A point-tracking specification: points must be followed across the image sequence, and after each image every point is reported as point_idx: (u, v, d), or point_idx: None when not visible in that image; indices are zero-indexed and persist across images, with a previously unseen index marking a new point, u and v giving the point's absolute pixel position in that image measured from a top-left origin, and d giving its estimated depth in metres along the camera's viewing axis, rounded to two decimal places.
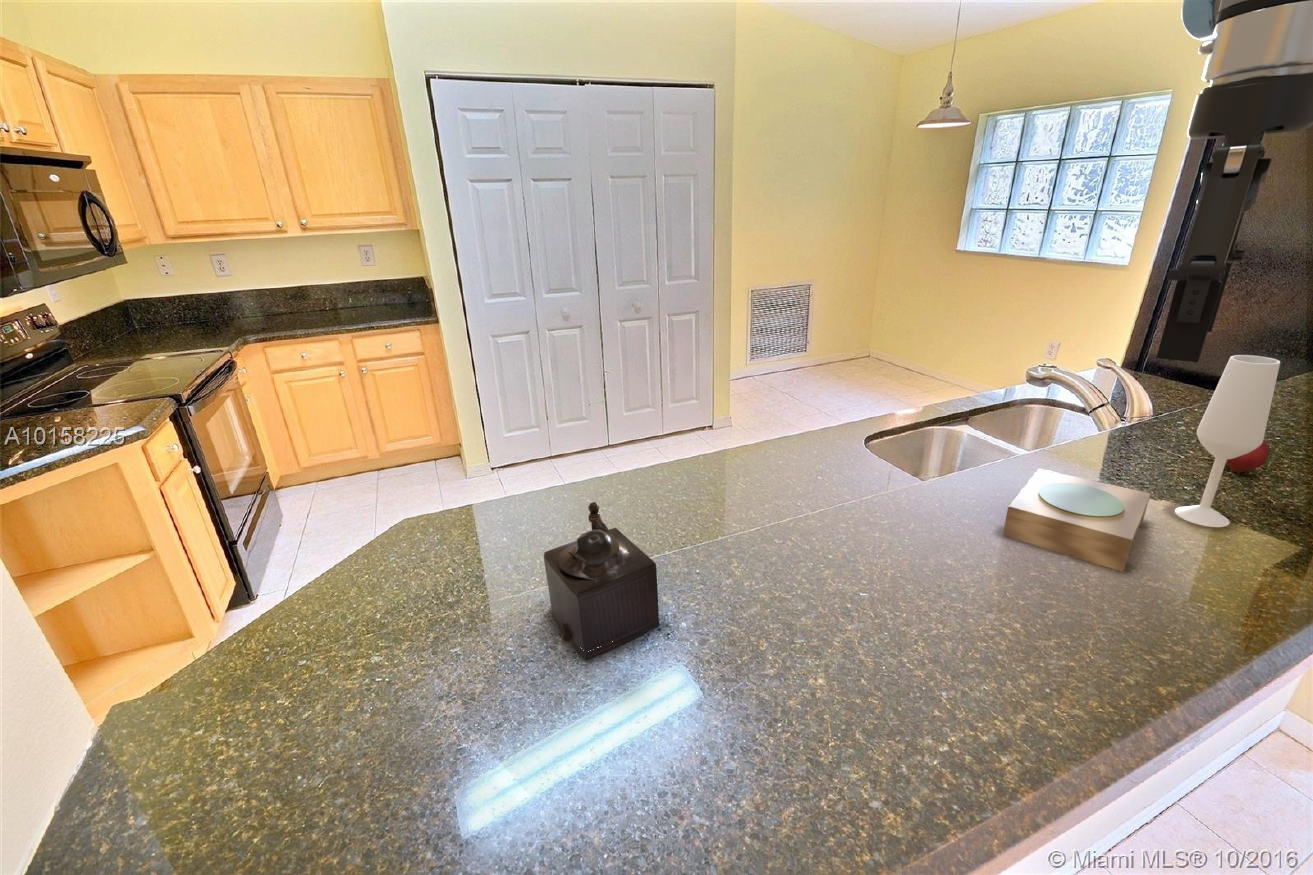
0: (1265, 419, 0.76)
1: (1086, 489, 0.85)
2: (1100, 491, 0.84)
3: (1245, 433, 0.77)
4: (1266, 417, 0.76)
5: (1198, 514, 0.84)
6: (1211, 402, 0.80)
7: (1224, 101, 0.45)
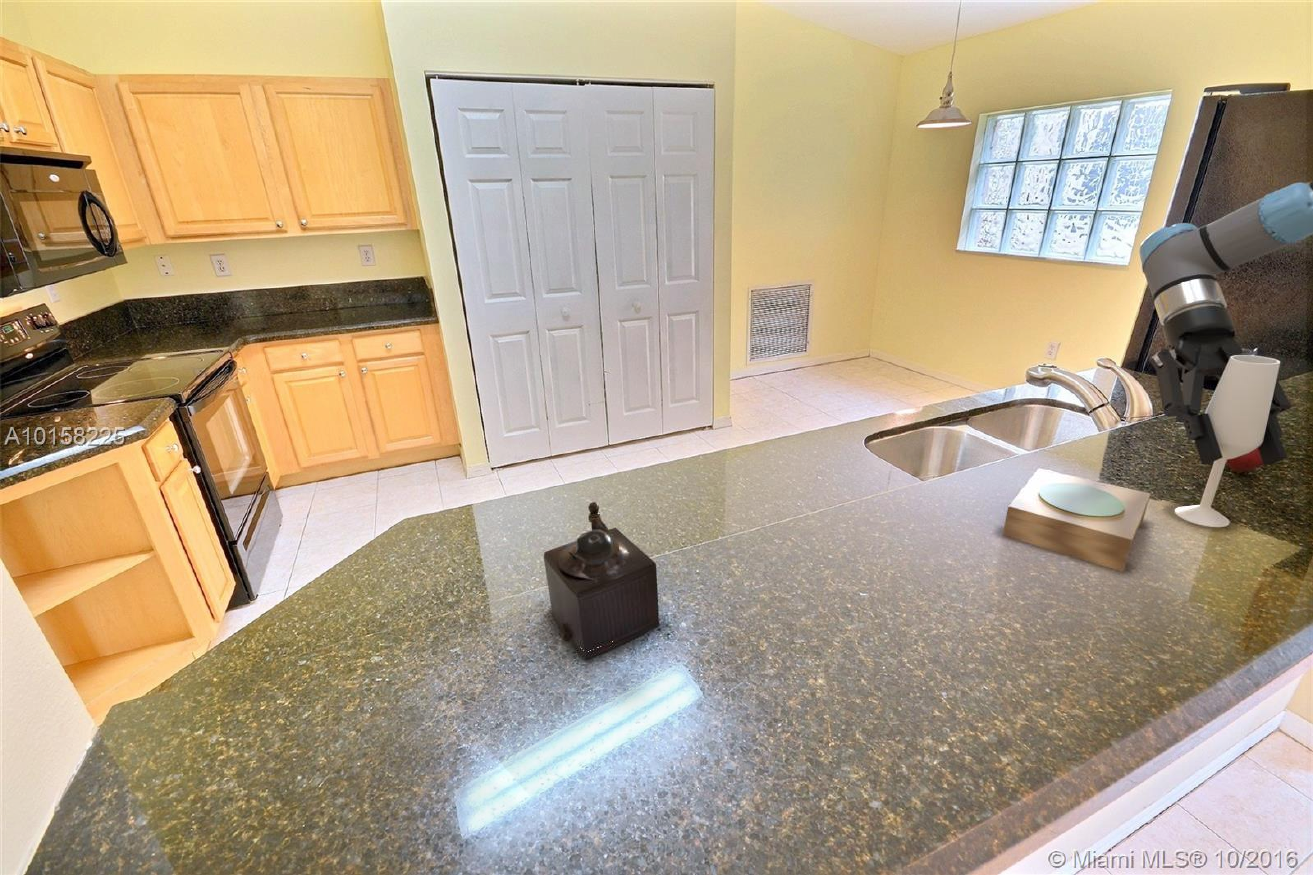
0: (1265, 419, 0.76)
1: (1086, 489, 0.85)
2: (1100, 491, 0.84)
3: (1245, 433, 0.77)
4: (1266, 417, 0.76)
5: (1198, 514, 0.84)
6: (1211, 402, 0.80)
7: (1164, 333, 0.88)
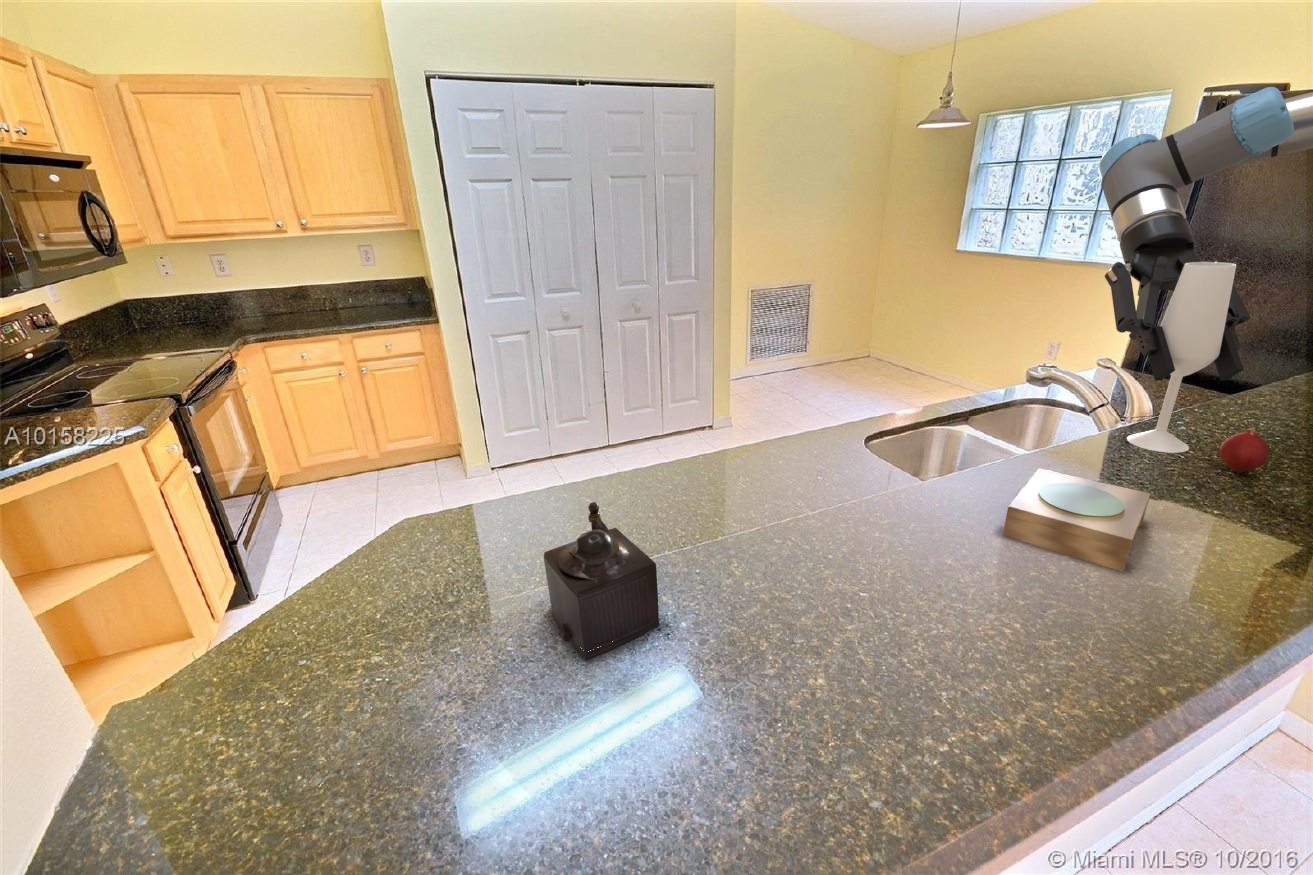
0: (1221, 328, 0.71)
1: (1086, 489, 0.85)
2: (1100, 491, 0.84)
3: (1199, 344, 0.72)
4: (1222, 326, 0.71)
5: (1154, 438, 0.79)
6: (1165, 314, 0.75)
7: (1121, 249, 0.83)
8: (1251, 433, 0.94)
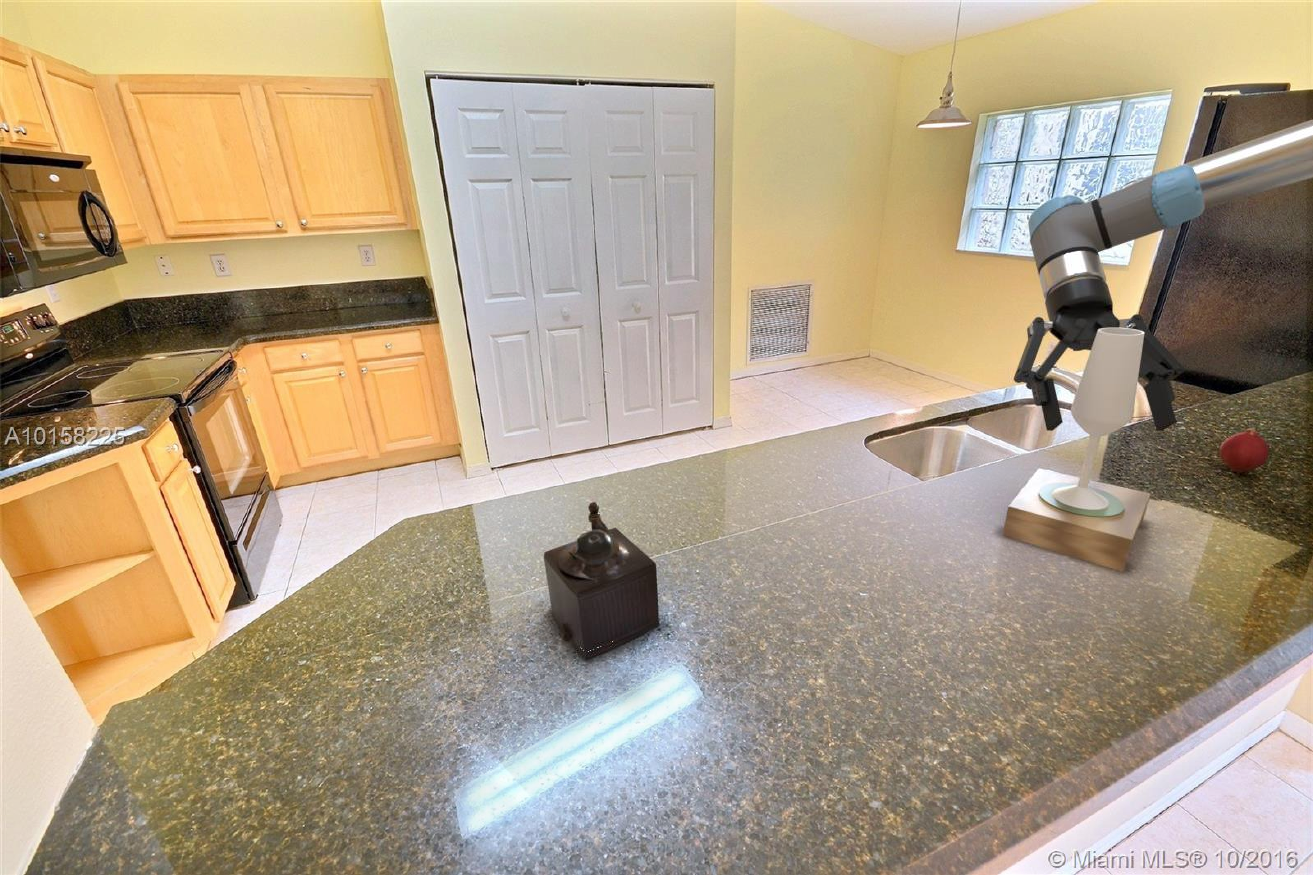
0: (1132, 393, 0.74)
1: None
2: (1100, 491, 0.84)
3: (1112, 408, 0.74)
4: (1133, 391, 0.74)
5: (1075, 494, 0.81)
6: (1082, 377, 0.77)
7: (1046, 308, 0.85)
8: (1251, 433, 0.94)
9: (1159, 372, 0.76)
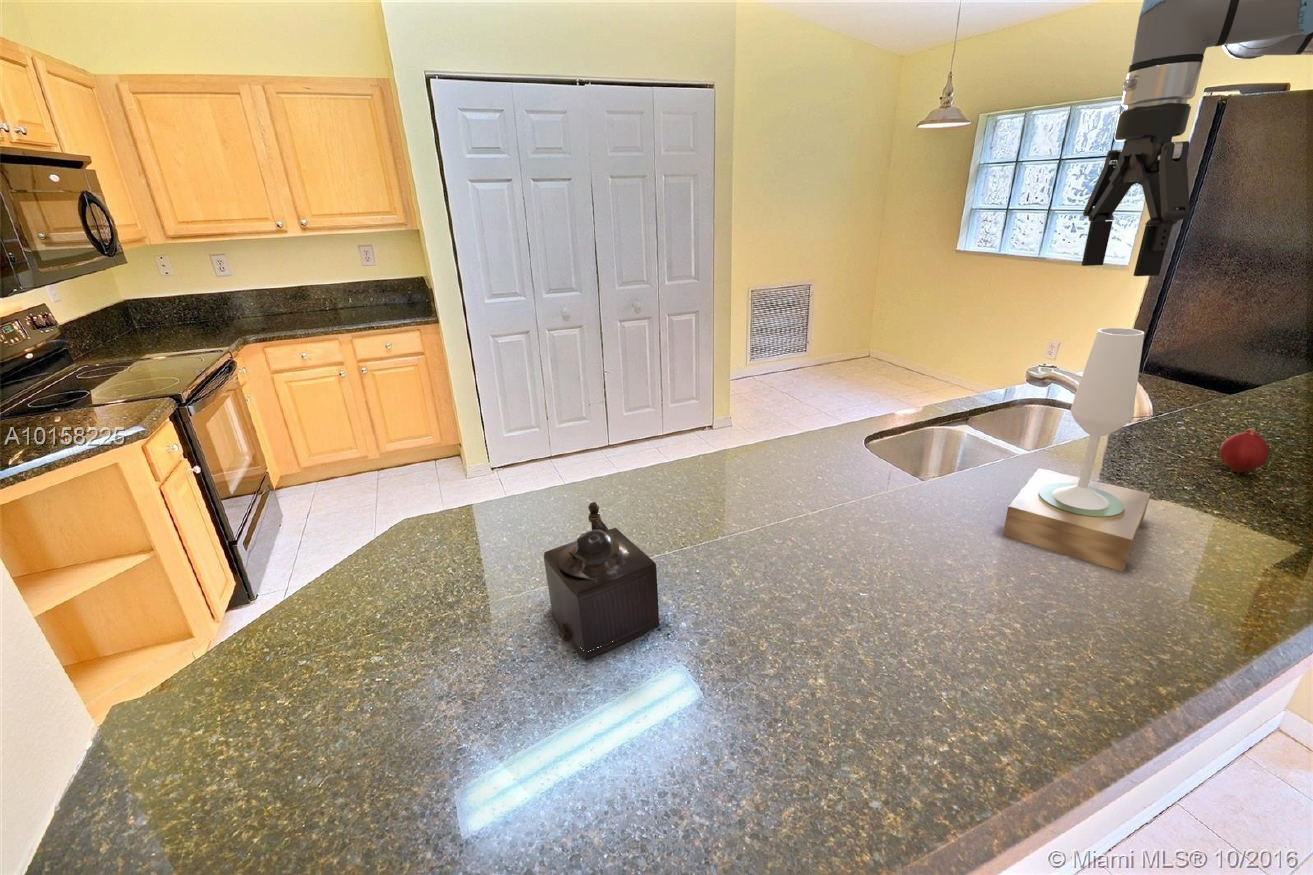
0: (1132, 393, 0.74)
1: None
2: (1100, 491, 0.84)
3: (1112, 408, 0.74)
4: (1133, 391, 0.74)
5: (1075, 494, 0.81)
6: (1082, 377, 0.77)
7: (1154, 116, 0.75)
8: (1251, 433, 0.94)
9: (1110, 215, 0.88)
